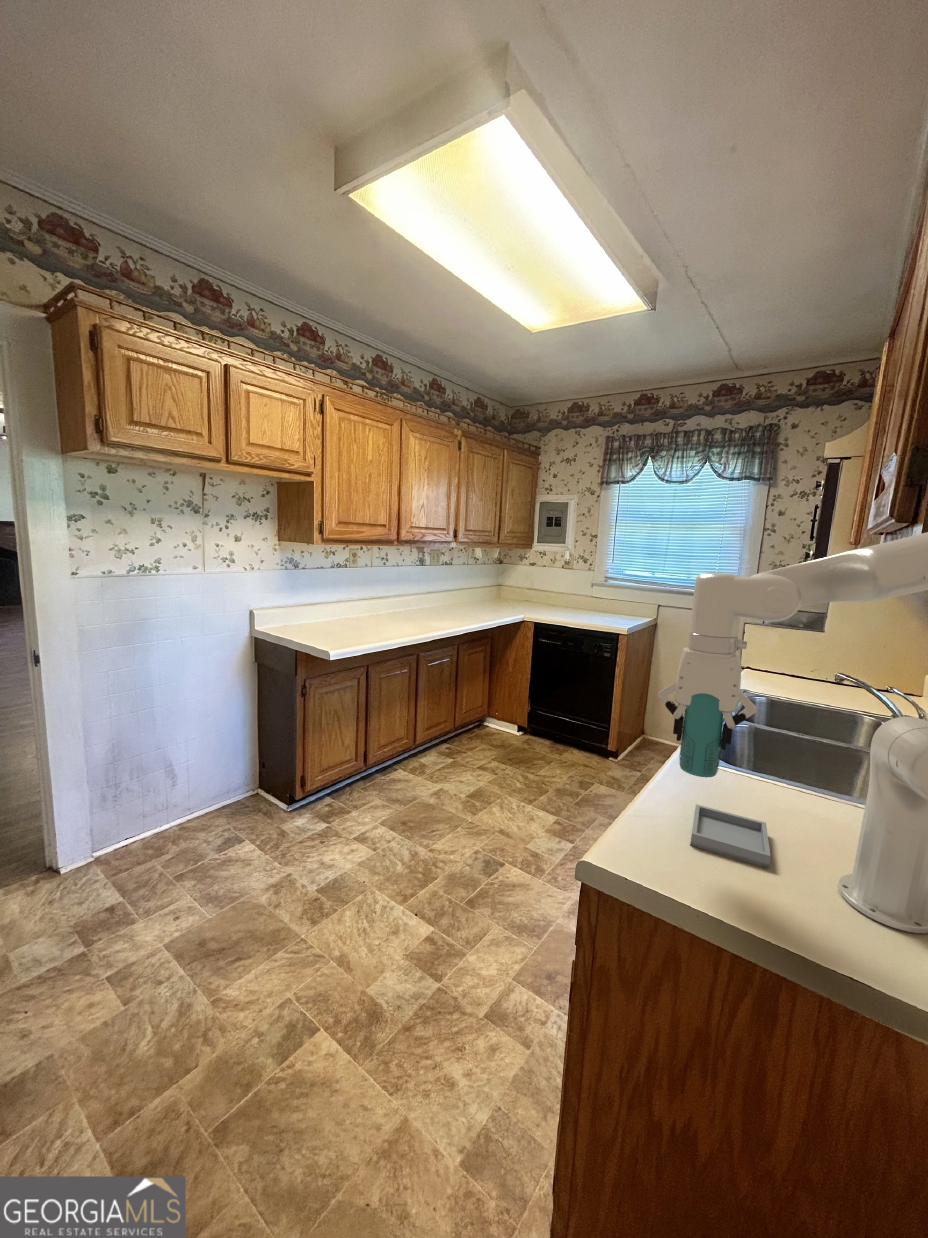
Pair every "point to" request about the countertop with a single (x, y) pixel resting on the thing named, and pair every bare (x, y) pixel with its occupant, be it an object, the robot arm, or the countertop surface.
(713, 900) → the countertop surface
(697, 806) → the tray
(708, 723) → the beverage bottle
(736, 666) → the robot arm
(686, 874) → the countertop surface
